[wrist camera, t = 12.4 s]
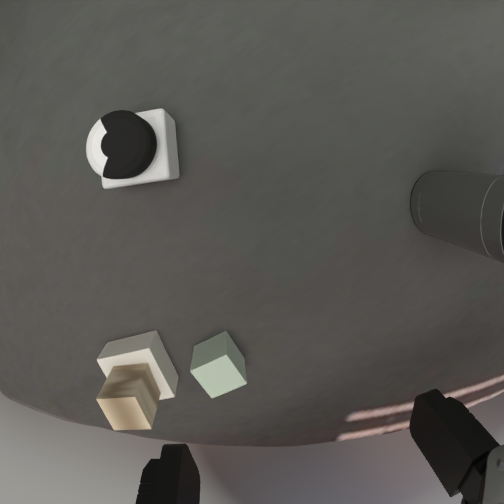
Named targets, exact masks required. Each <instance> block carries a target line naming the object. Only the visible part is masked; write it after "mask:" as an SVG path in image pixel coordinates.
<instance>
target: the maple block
mask: <svg viewBox="0 0 504 504" xmlns="http://www.w3.org/2000/svg"><path fill="white" fill-rule="evenodd" d="M160 394H161V392H160V390H159V388H158V385H157V383H156V381H155V378H154V376H153V373H152V371H151V369H150V366H149V364H148V362H147V363H139V364H130V365H121V366H113V368H112V370H111V372H110V374H109V375H108V377H107V379H106V381H105V383H104V385H103V387H102V389H101V391H100V393H99V395H98V397H97V401H98V403H99V405H100V407H101V408H102V410H103V412H104V414H105V415H106V417H107V419H108V421H109V422H110V424H111V426H112V427H113V429H114V430H137V429H152V425H153V421H154V417H155V413H156V409H157V406H158V402H159V398H160Z"/></svg>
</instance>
